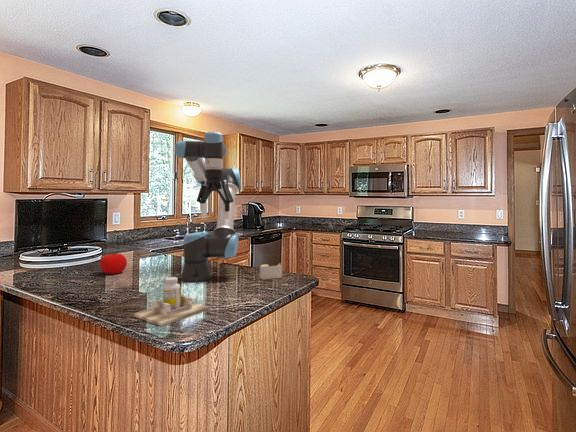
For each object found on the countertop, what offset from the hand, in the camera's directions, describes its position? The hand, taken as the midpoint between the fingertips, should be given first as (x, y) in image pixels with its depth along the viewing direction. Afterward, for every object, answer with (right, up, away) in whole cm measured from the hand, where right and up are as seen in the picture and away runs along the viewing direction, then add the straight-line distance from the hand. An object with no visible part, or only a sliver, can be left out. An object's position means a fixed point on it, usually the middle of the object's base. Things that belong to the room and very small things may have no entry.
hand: (214, 218), depth 146 cm
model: (+23, -31, +26) cm, 46 cm away
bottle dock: (-10, -33, -25) cm, 43 cm away
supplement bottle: (-10, -33, -25) cm, 42 cm away
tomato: (-62, -30, +37) cm, 78 cm away
